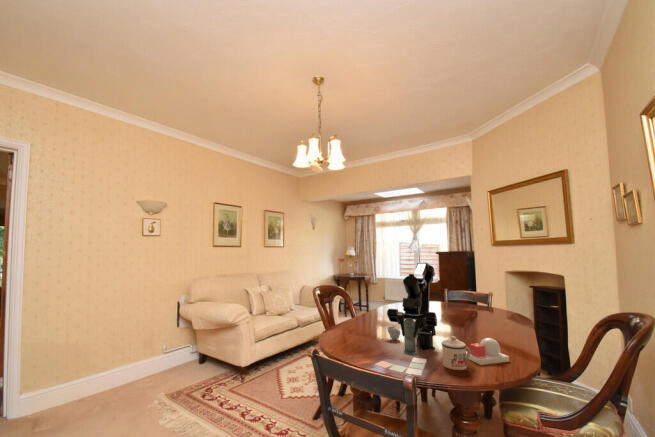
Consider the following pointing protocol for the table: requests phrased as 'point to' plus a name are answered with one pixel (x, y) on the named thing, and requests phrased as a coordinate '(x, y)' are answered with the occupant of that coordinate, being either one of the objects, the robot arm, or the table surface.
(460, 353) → the teacup with lid
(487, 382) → the table surface
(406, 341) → the pawn
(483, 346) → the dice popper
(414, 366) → the track
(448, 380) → the table surface
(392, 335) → the frog figurine
